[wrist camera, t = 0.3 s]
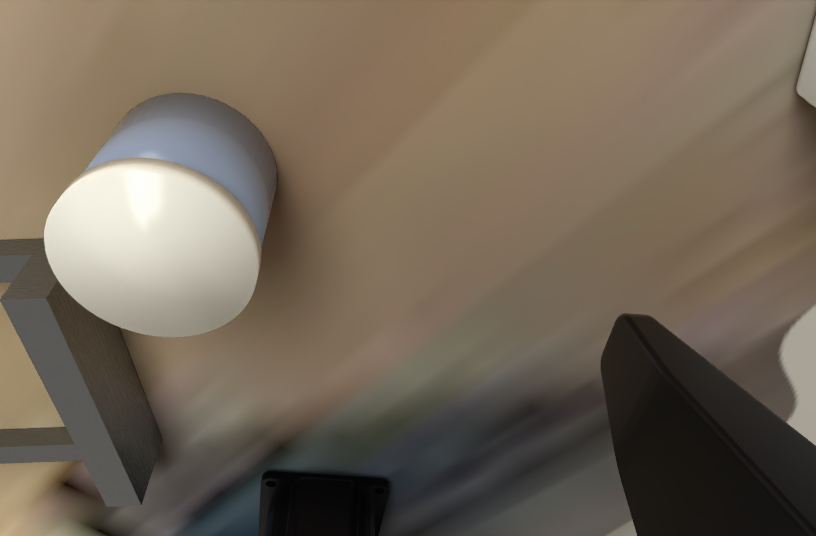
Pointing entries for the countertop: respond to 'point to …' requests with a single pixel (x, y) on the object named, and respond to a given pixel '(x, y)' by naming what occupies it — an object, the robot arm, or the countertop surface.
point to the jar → (167, 219)
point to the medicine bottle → (809, 71)
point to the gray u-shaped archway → (77, 382)
